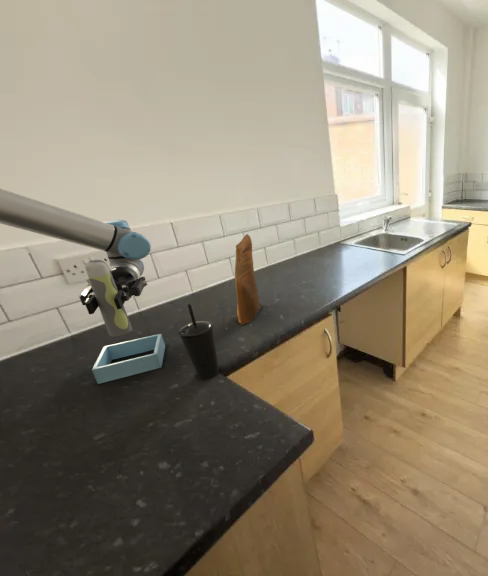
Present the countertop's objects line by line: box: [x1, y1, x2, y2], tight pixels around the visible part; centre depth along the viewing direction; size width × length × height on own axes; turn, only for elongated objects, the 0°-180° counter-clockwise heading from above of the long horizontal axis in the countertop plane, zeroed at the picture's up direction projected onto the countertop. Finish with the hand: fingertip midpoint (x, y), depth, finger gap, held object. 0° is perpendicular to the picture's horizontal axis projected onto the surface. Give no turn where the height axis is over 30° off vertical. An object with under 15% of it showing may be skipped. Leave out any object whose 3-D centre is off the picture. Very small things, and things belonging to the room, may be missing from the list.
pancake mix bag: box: [234, 233, 262, 326], centre depth 110 cm, size 7×19×28 cm, turn 3°
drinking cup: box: [177, 303, 220, 380], centre depth 79 cm, size 8×8×20 cm
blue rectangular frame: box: [91, 333, 166, 385], centre depth 88 cm, size 14×13×4 cm
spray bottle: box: [84, 259, 133, 338], centre depth 80 cm, size 5×5×20 cm
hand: (103, 306), depth 76 cm, fingers closed on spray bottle, 5 cm apart
